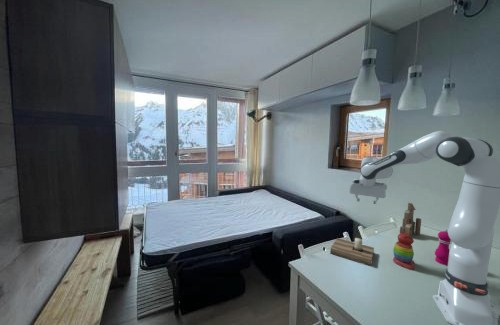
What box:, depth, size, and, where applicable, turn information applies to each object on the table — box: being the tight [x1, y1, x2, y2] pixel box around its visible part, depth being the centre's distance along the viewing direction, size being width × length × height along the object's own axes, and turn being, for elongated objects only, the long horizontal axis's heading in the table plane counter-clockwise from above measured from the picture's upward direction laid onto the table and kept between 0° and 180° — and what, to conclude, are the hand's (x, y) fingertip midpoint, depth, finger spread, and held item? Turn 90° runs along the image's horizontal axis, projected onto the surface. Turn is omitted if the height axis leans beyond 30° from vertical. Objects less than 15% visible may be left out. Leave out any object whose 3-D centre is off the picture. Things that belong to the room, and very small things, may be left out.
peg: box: [354, 237, 363, 252], centre depth 125 cm, size 4×4×10 cm
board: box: [329, 237, 375, 267], centre depth 127 cm, size 18×22×4 cm
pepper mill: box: [434, 228, 451, 266], centre depth 119 cm, size 7×7×20 cm
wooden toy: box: [399, 202, 422, 237], centre depth 157 cm, size 16×7×25 cm, turn 114°
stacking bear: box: [392, 232, 415, 270], centre depth 117 cm, size 11×10×18 cm
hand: (366, 202), depth 131 cm, fingers open, 8 cm apart
